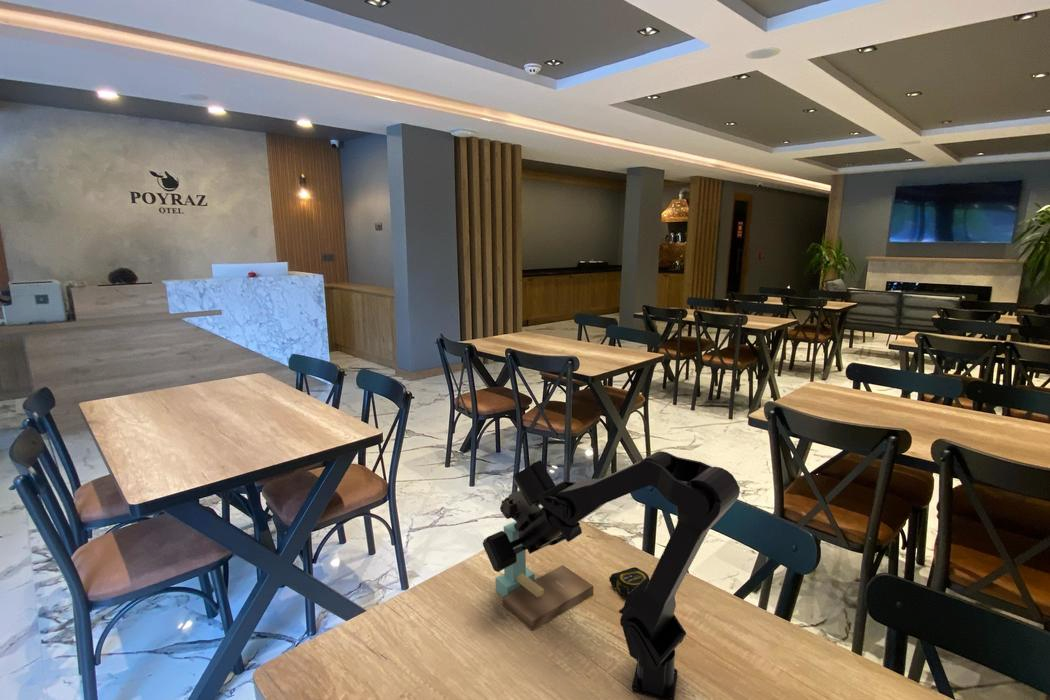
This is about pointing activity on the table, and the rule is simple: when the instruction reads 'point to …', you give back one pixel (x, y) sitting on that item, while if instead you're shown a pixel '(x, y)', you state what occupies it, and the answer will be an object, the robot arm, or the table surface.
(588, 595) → the board
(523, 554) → the teal block tower
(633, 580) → the tape measure
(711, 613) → the table surface
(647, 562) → the table surface
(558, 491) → the robot arm
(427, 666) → the table surface
